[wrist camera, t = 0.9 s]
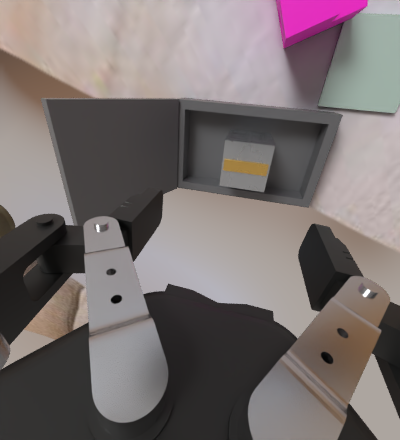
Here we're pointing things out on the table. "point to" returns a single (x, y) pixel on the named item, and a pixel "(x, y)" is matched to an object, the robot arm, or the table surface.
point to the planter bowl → (5, 222)
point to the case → (178, 148)
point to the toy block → (313, 16)
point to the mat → (365, 65)
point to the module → (246, 160)
